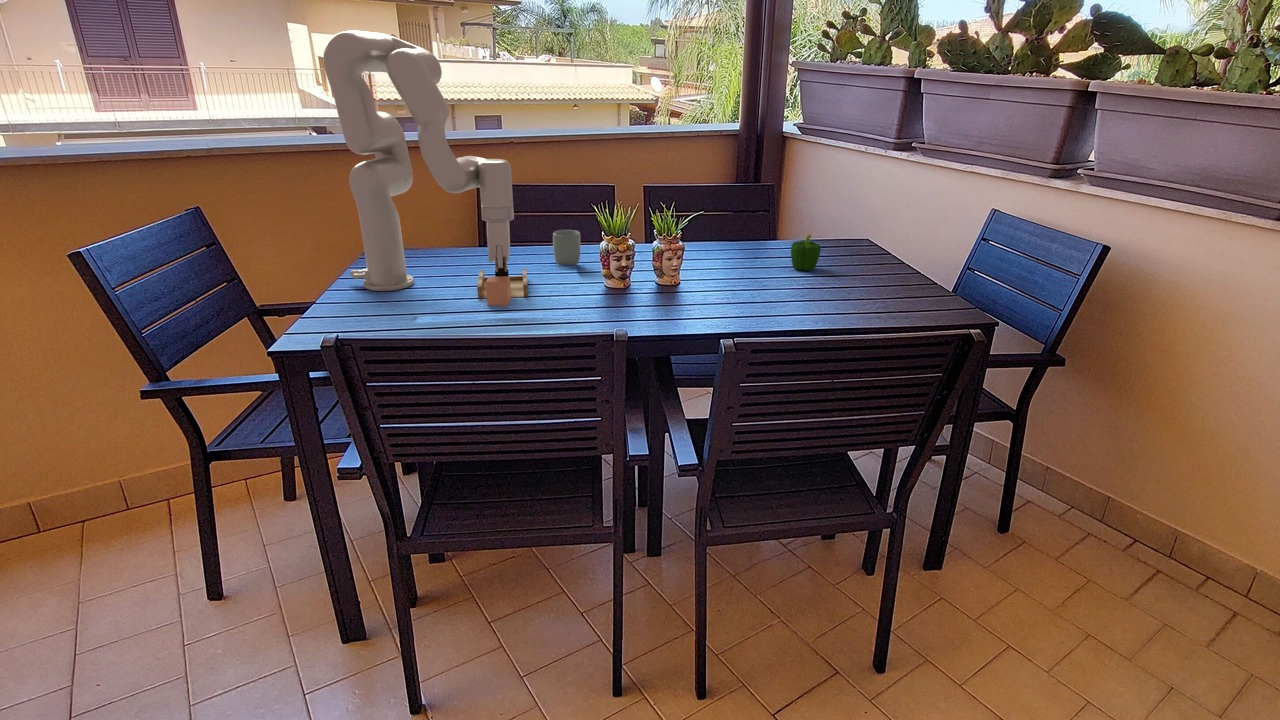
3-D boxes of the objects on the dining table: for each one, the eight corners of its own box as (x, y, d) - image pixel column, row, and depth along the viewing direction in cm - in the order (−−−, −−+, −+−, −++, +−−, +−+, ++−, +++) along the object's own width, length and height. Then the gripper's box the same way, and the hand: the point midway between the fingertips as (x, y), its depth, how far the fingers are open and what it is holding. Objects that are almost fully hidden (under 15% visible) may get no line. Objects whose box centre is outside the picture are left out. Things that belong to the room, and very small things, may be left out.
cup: (576, 271, 188) (575, 236, 184) (550, 269, 189) (549, 234, 185) (583, 263, 195) (583, 230, 191) (558, 262, 196) (557, 228, 192)
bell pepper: (806, 274, 188) (811, 240, 184) (783, 268, 194) (787, 235, 190) (823, 269, 193) (828, 236, 189) (800, 263, 199) (804, 231, 195)
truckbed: (481, 285, 173) (479, 269, 172) (527, 284, 175) (526, 268, 174) (478, 304, 160) (477, 286, 158) (528, 302, 162) (527, 285, 160)
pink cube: (487, 306, 155) (485, 281, 153) (490, 300, 160) (488, 276, 158) (508, 306, 155) (507, 281, 153) (511, 300, 160) (509, 276, 158)
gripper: (483, 207, 163) (488, 277, 171) (480, 219, 150) (486, 296, 157) (513, 206, 165) (517, 277, 172) (513, 219, 151) (517, 295, 159)
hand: (502, 285), depth 165 cm, fingers closed
